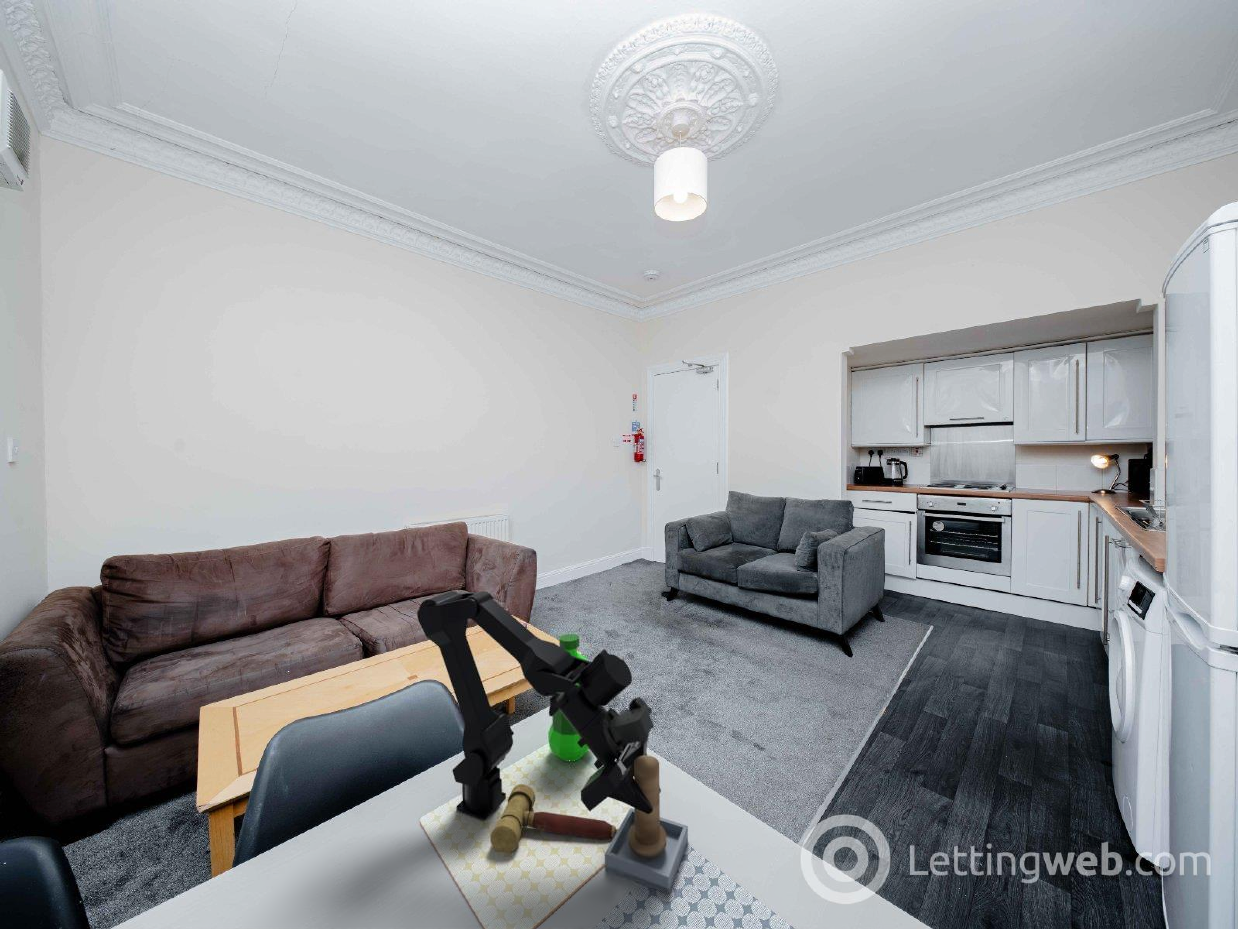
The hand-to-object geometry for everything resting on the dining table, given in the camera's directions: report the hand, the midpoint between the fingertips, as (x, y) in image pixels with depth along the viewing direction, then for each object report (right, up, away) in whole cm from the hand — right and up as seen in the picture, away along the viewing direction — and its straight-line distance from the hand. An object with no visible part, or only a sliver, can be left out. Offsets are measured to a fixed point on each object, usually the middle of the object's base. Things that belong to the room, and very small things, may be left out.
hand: (655, 802), depth 74 cm
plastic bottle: (-16, -9, +26) cm, 32 cm away
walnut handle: (-1, -7, +1) cm, 7 cm away
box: (-1, -9, +1) cm, 9 cm away
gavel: (-16, -10, +6) cm, 19 cm away
